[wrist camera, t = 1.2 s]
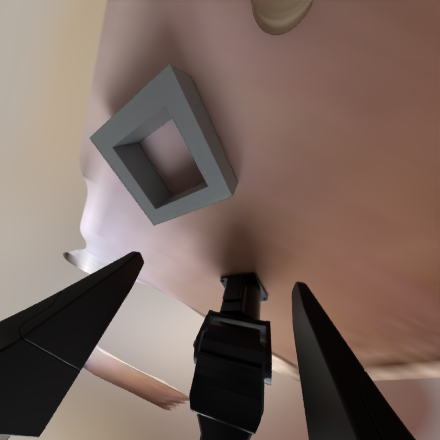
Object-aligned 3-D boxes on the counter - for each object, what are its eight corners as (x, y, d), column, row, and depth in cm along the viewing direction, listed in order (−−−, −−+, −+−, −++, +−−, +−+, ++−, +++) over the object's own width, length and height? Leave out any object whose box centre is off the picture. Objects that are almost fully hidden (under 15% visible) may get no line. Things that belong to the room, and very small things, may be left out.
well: (238, 183, 19) (232, 196, 16) (169, 211, 24) (154, 225, 20) (190, 76, 15) (169, 63, 12) (119, 135, 20) (89, 138, 16)
